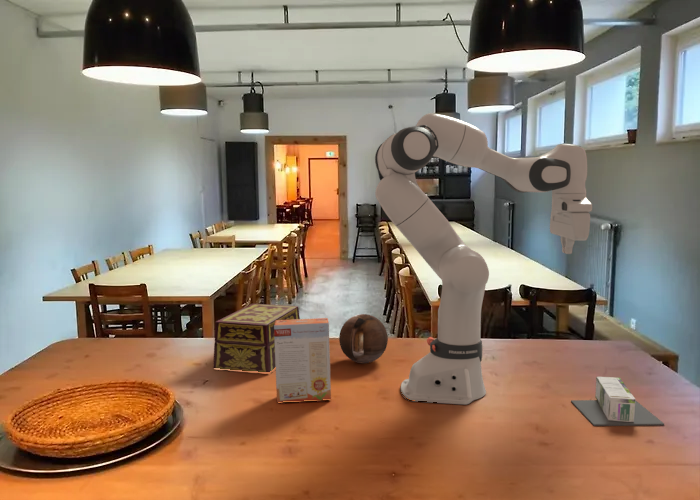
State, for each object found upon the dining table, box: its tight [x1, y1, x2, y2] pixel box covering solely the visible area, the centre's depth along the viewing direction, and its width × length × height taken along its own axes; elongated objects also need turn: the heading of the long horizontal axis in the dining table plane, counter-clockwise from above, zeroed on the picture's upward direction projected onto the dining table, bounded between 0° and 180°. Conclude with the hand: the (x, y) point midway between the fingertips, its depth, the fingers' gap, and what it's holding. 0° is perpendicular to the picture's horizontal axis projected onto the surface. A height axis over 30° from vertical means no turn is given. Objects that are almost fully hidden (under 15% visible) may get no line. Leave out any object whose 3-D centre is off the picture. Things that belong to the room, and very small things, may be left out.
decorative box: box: [212, 303, 301, 372], centre depth 183 cm, size 28×19×15 cm
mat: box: [570, 399, 665, 427], centre depth 138 cm, size 16×14×1 cm
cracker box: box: [274, 317, 332, 403], centre depth 148 cm, size 14×6×21 cm, turn 94°
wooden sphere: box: [338, 313, 389, 364], centre depth 177 cm, size 15×15×15 cm
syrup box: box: [595, 376, 636, 422], centre depth 139 cm, size 6×6×14 cm
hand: (567, 253), depth 160 cm, fingers closed
